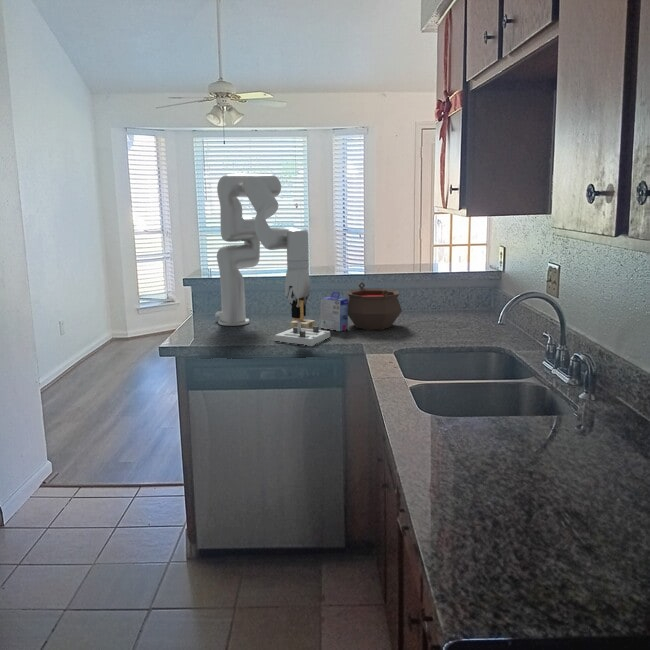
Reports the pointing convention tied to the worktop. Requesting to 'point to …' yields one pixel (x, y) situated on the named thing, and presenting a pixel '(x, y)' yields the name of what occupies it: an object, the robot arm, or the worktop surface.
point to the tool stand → (303, 324)
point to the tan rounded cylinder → (300, 315)
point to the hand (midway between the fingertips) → (298, 316)
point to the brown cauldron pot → (373, 307)
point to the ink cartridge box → (334, 313)
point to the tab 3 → (316, 329)
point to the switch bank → (309, 341)
